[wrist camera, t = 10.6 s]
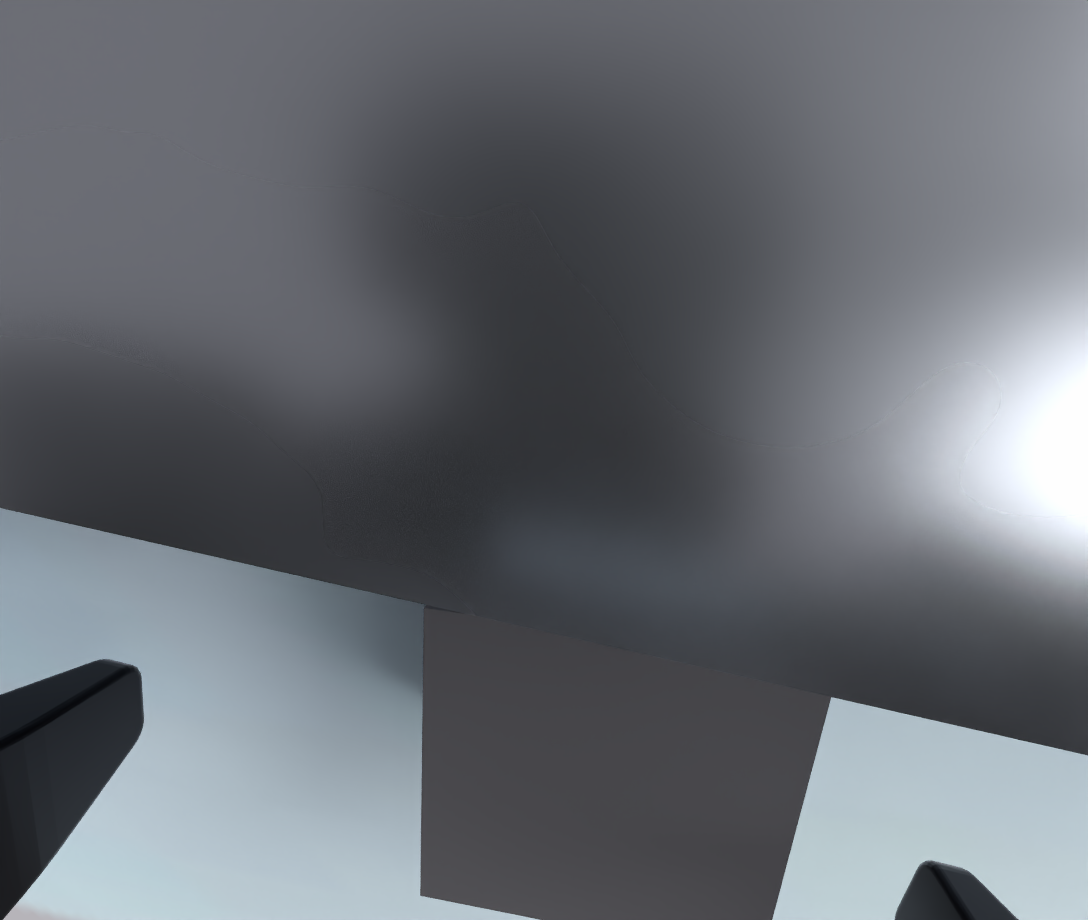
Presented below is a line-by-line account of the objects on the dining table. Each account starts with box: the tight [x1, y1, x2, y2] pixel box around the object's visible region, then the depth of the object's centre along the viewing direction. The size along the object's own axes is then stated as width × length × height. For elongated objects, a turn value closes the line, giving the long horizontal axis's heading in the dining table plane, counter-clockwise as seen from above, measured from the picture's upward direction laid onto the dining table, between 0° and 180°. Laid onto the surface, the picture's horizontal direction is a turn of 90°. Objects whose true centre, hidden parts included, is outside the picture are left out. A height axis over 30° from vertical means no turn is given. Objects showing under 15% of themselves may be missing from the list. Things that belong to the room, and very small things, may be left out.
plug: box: [420, 605, 831, 920], centre depth 6 cm, size 4×17×3 cm, turn 175°
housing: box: [0, 0, 1088, 755], centre depth 5 cm, size 12×4×6 cm, turn 80°
